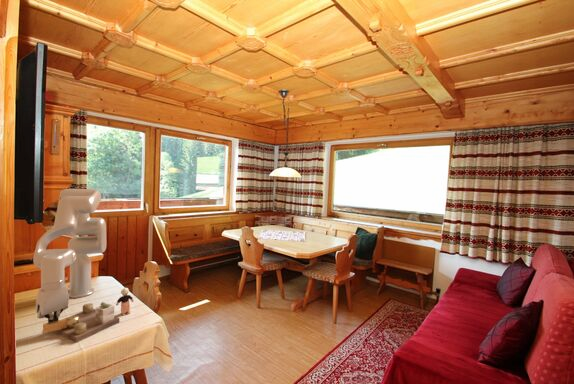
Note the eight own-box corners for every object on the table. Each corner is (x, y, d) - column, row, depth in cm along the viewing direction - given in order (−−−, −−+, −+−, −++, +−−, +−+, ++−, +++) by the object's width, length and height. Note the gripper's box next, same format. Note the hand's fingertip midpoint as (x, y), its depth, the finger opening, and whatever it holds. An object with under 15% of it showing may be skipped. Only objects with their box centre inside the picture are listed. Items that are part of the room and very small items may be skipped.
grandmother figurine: (130, 309, 142) (130, 284, 141) (134, 312, 140) (135, 286, 139) (114, 315, 136) (114, 289, 135) (118, 318, 134) (118, 291, 133)
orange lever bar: (78, 322, 124) (78, 314, 124) (79, 326, 121) (79, 318, 121) (43, 330, 117) (43, 321, 117) (42, 335, 114) (42, 326, 113)
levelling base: (48, 329, 122) (48, 307, 121) (91, 312, 138) (91, 292, 138) (76, 342, 114) (76, 319, 113) (119, 322, 130) (119, 301, 130)
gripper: (67, 276, 126) (67, 316, 128) (25, 288, 113) (26, 333, 114) (78, 280, 123) (78, 320, 125) (36, 292, 110) (36, 338, 111)
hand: (53, 326), depth 120 cm, fingers closed
